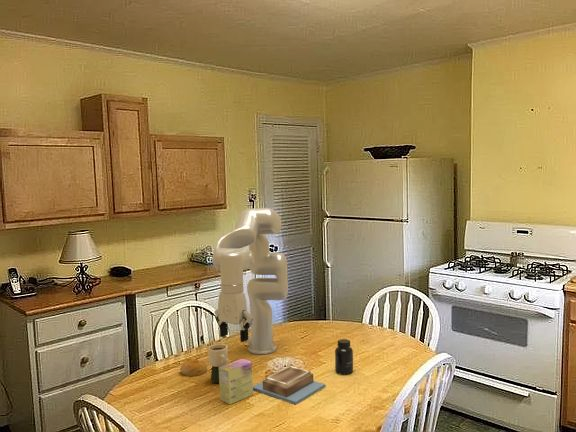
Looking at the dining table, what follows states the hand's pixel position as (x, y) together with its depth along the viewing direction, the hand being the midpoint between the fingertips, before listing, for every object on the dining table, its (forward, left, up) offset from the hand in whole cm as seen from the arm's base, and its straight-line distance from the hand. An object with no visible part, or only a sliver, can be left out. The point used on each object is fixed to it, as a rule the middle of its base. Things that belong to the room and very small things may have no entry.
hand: (234, 338), depth 169 cm
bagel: (-30, +7, -21) cm, 38 cm away
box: (0, 0, -21) cm, 21 cm away
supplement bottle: (+18, +40, -21) cm, 49 cm away
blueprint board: (+10, +16, -21) cm, 28 cm away
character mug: (-15, +6, -21) cm, 27 cm away
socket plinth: (+10, +16, -21) cm, 28 cm away
